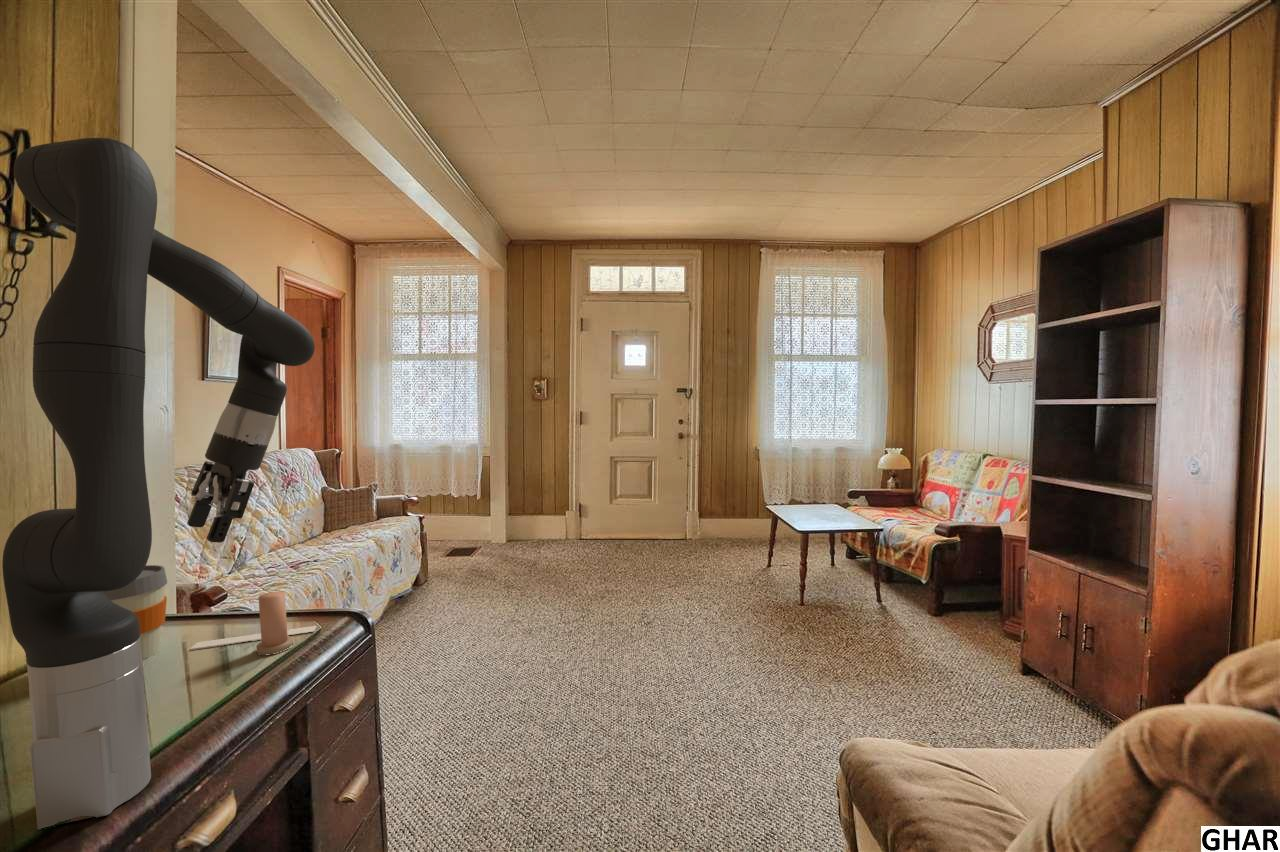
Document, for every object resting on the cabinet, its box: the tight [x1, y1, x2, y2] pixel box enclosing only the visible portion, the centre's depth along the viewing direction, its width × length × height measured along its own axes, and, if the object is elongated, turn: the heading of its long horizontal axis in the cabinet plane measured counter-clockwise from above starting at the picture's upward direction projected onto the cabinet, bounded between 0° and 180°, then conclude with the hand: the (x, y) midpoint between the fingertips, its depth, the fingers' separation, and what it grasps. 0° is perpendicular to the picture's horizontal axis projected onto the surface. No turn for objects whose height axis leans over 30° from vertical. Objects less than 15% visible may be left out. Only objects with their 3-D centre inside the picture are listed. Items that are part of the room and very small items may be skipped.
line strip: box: [189, 625, 317, 651], centre depth 109 cm, size 3×20×1 cm, turn 108°
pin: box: [256, 590, 294, 656], centre depth 103 cm, size 6×6×10 cm
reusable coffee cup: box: [103, 564, 168, 661], centre depth 102 cm, size 13×12×15 cm
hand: (204, 533), depth 90 cm, fingers open, 8 cm apart
